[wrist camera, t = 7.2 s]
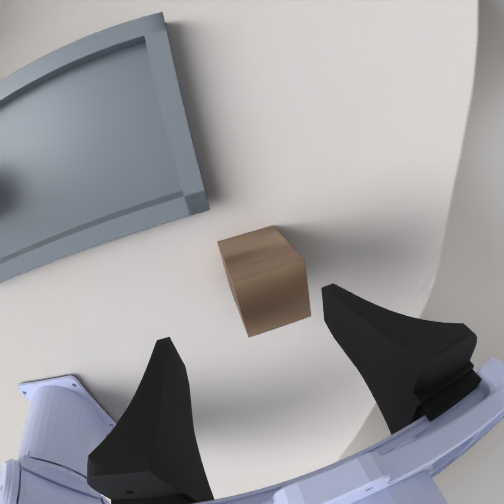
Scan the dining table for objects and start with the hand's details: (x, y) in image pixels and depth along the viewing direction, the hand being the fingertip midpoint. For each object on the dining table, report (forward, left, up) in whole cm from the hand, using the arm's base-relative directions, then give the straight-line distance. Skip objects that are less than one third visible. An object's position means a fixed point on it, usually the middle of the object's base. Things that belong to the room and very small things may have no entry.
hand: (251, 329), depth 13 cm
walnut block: (-1, -2, -9) cm, 9 cm away
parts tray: (+10, +10, -9) cm, 16 cm away
